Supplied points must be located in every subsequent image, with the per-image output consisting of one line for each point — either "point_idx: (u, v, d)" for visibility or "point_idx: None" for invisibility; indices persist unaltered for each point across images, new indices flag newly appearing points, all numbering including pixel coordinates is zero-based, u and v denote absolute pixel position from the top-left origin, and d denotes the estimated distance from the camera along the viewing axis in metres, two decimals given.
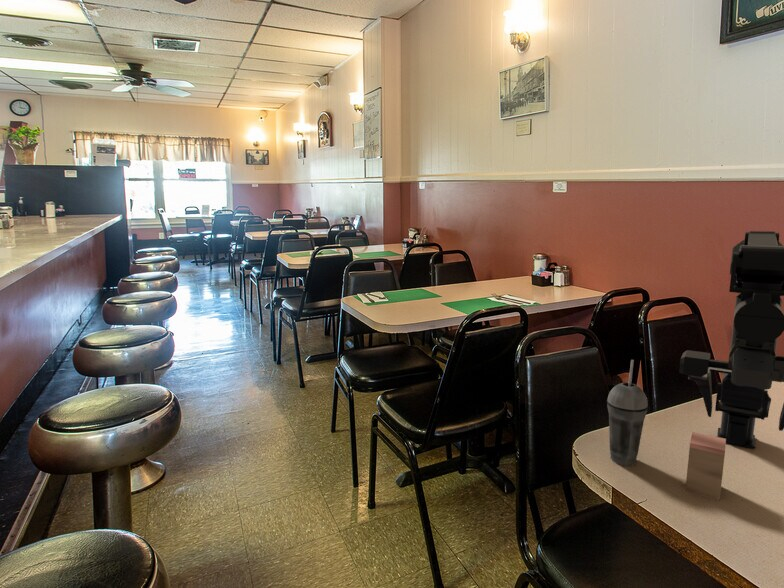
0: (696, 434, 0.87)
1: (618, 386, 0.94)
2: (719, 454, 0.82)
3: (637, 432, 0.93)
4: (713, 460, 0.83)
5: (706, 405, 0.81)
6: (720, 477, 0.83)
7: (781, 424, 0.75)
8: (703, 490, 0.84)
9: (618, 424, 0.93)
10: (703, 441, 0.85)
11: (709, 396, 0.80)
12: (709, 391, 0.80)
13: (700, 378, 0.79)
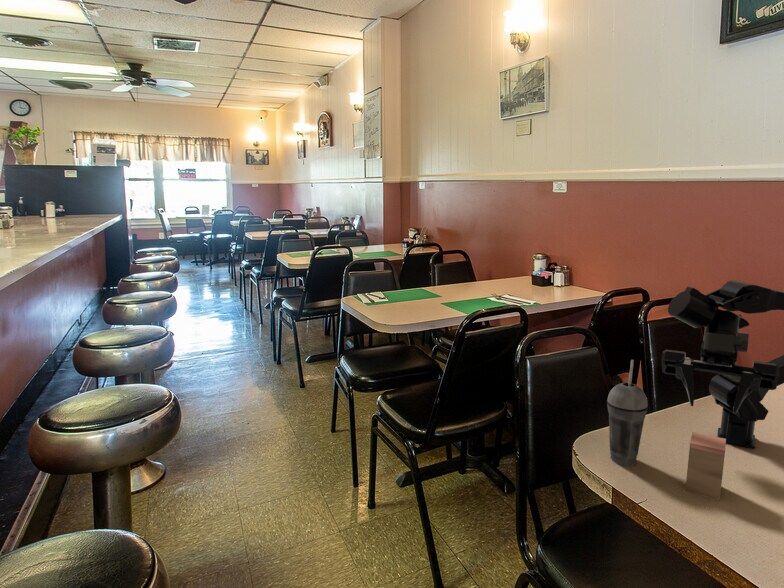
0: (696, 434, 0.87)
1: (618, 386, 0.94)
2: (719, 454, 0.82)
3: (637, 432, 0.93)
4: (713, 460, 0.83)
5: (689, 392, 0.94)
6: (720, 477, 0.83)
7: (735, 405, 0.90)
8: (703, 490, 0.84)
9: (618, 424, 0.93)
10: (703, 441, 0.85)
11: (692, 384, 0.95)
12: (692, 379, 0.95)
13: None
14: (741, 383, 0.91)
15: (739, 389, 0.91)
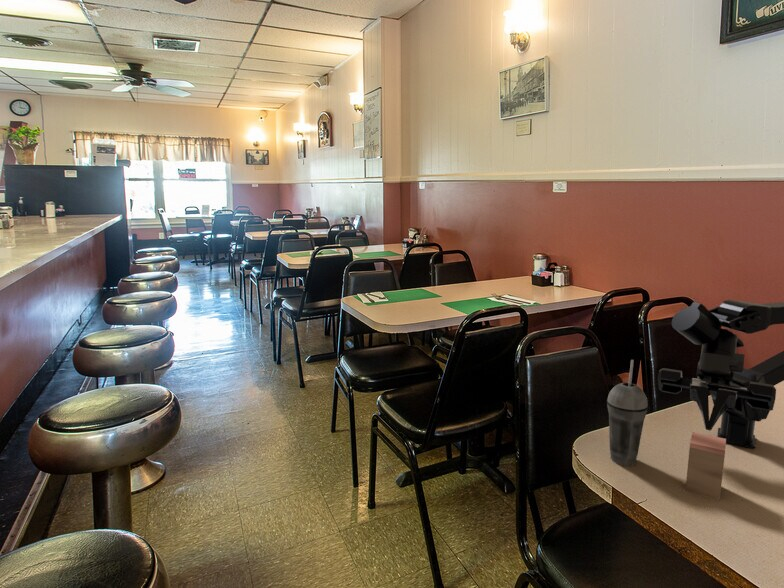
0: (696, 434, 0.87)
1: (618, 386, 0.94)
2: (719, 454, 0.82)
3: (637, 432, 0.93)
4: (713, 460, 0.83)
5: (704, 416, 0.92)
6: (720, 477, 0.83)
7: (710, 422, 0.91)
8: (703, 490, 0.84)
9: (618, 424, 0.93)
10: (703, 441, 0.85)
11: (707, 407, 0.93)
12: (707, 402, 0.93)
13: None
14: (716, 400, 0.92)
15: (714, 406, 0.92)
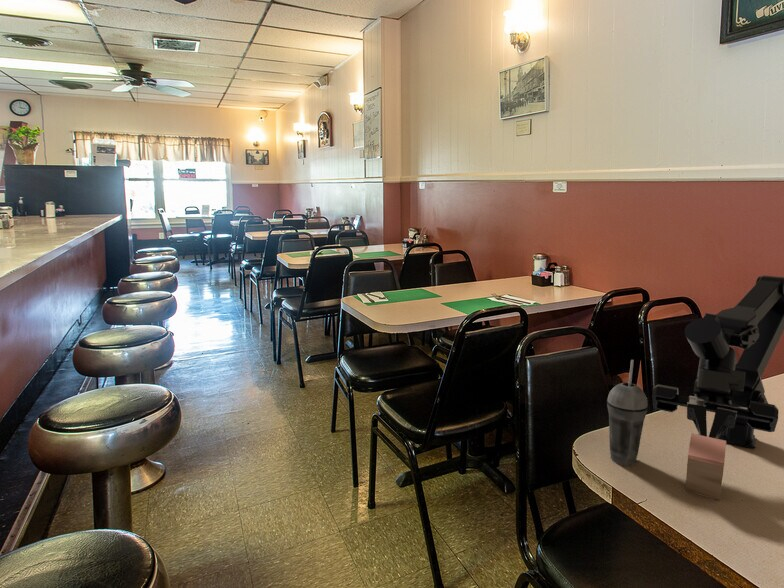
0: (695, 438, 0.84)
1: (618, 386, 0.94)
2: (718, 465, 0.80)
3: (637, 432, 0.93)
4: (712, 469, 0.81)
5: None
6: (720, 483, 0.81)
7: None
8: (703, 491, 0.84)
9: (618, 424, 0.93)
10: (702, 449, 0.82)
11: (705, 427, 0.87)
12: (705, 422, 0.87)
13: None
14: (715, 420, 0.87)
15: (713, 426, 0.86)
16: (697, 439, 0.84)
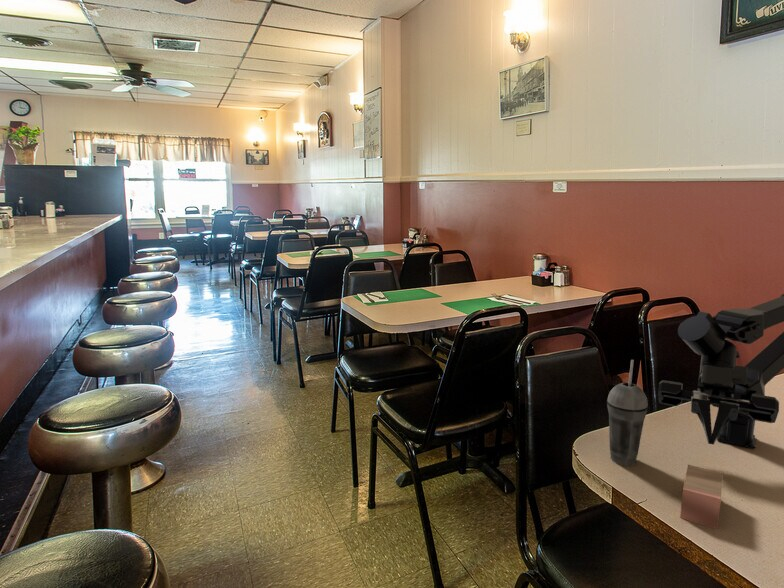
0: (687, 496, 0.78)
1: (618, 386, 0.94)
2: None
3: (637, 432, 0.93)
4: None
5: (707, 430, 0.90)
6: None
7: (713, 436, 0.90)
8: None
9: (618, 424, 0.93)
10: (694, 511, 0.77)
11: (709, 420, 0.91)
12: (709, 416, 0.91)
13: None
14: (719, 413, 0.90)
15: (717, 419, 0.90)
16: (689, 497, 0.78)
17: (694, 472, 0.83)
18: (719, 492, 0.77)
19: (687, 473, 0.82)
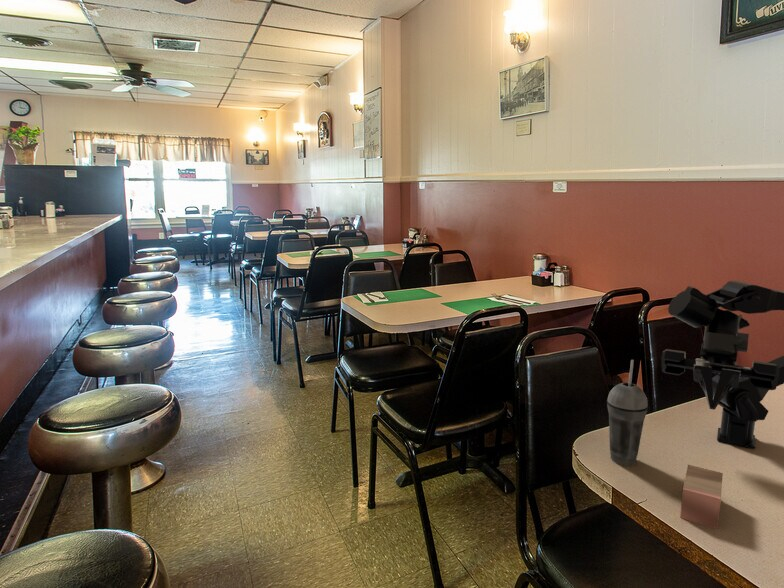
0: (687, 496, 0.78)
1: (618, 386, 0.94)
2: None
3: (637, 432, 0.93)
4: None
5: (708, 395, 0.93)
6: None
7: (714, 401, 0.92)
8: None
9: (618, 424, 0.93)
10: (694, 511, 0.77)
11: (711, 386, 0.93)
12: (711, 382, 0.93)
13: None
14: (720, 380, 0.93)
15: (718, 385, 0.93)
16: (689, 497, 0.78)
17: (694, 472, 0.83)
18: (719, 492, 0.77)
19: (687, 473, 0.82)
